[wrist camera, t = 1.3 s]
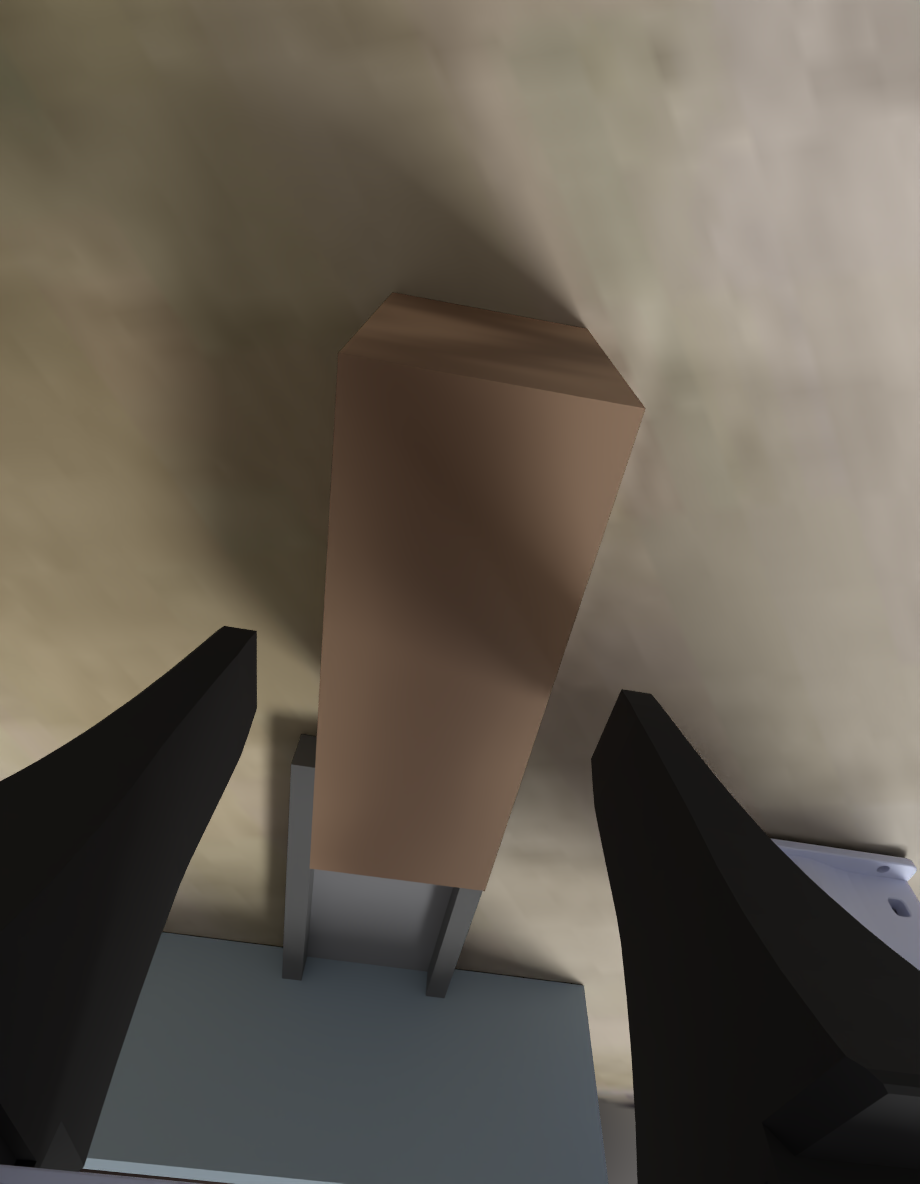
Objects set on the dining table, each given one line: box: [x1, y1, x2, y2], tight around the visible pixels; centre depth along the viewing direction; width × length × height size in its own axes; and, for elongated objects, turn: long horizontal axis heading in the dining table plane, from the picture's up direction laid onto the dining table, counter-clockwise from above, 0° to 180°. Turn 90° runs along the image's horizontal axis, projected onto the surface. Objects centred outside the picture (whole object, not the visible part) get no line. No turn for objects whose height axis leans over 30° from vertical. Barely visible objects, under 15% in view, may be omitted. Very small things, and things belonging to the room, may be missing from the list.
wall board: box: [83, 734, 608, 1184], centre depth 26 cm, size 24×18×9 cm
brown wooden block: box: [310, 292, 645, 891], centre depth 17 cm, size 5×14×7 cm, turn 171°
